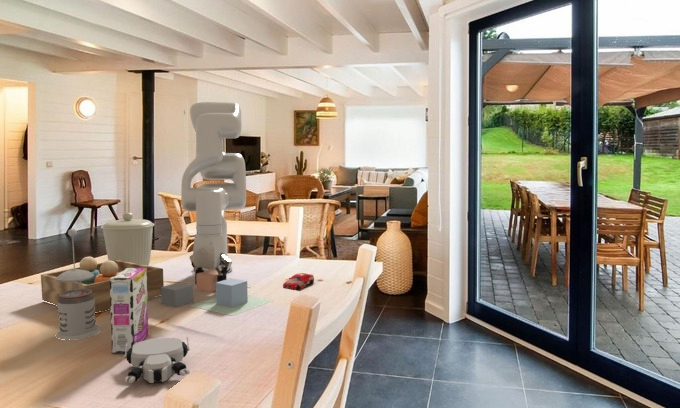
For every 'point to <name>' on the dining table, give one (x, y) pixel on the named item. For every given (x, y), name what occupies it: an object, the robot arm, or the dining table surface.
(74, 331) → the french press
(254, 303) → the board
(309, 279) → the race car
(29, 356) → the dining table surface
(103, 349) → the dining table surface
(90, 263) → the wooden peg doll toy
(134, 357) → the robot toy
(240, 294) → the base brick
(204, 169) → the robot arm
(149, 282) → the wooden tray
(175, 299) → the gray cube
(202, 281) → the brick
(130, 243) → the canister
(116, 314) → the candy bar box
